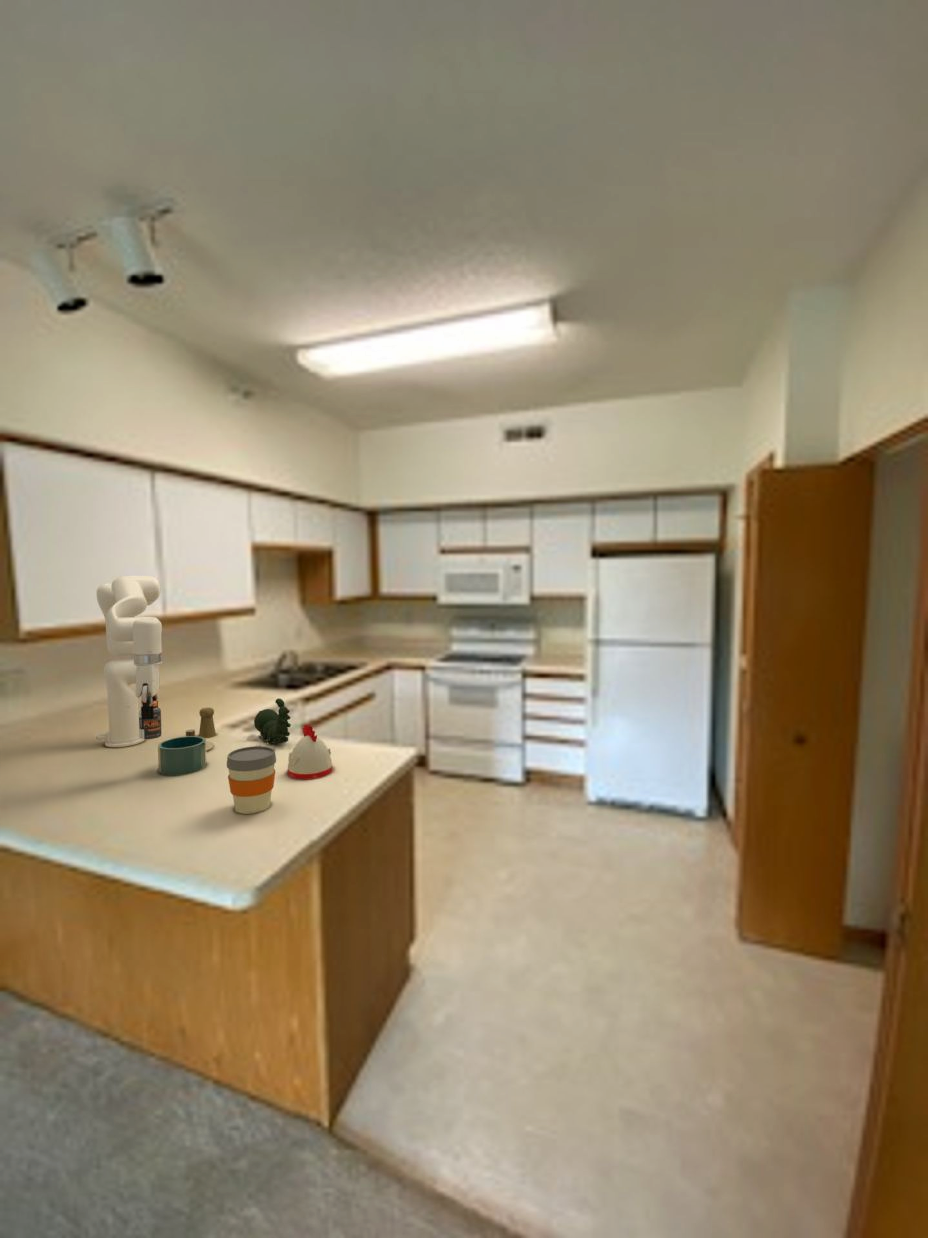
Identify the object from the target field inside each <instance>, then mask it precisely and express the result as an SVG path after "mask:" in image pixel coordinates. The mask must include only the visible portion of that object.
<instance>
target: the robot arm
mask: <svg viewBox="0 0 928 1238" xmlns="http://www.w3.org/2000/svg"><path fill="white" fill-rule="evenodd" d="M160 595H161V585H160V582H159V580H158V579H157V578H156V577H155V576H151V575H120V576H118V577H116V578H114V580H112V582H111V583H104V584H101V585H99V586H98V587H97V589H96V601H97V603H98V606H99V608H100V610H101V612H102V614H103V617H104V623H105V634H106V635H105V636H106V647H107V652H108V653H109V654H110V655H111V656H118V657H119V656H120V657H121V656H133V658H132V657H130V658H119V659H113V660H110V661H108V662H106V664H105V665H104V666H103V676H104V680H105V684H106V685H105V686H106V690H107V692H106V693H107V710H108V731H107V732H106V733H96V734H95V739H96V740H98V741H102V740H105V741H104V746H105V747H108V748H124V747H125V748H126V747H131V746H135V745H139V744H141V743H143V742H145V740H143V739H140V737H139V711H140V710H141V719H153V718H154V711H153V706H152V701H157V707H158V708H159V700H158V692H160V665H161V664H163V647H162V646H163V644H162V634H163V624H162V622H161V621H160V619H159V618H157V617H155V616H140V615H141V614H143V613H144V612H145V611H146V609H147V607H149V606H151V605H152V604H154V603H155V602H156V601H157V600H158V599H159V597H160ZM130 685H135V689H134V688H132V687H131V686H130ZM139 698H140V708H139ZM149 701H150V702H149Z"/></svg>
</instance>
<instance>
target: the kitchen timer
mask: <svg viewBox="0 0 928 1238" xmlns="http://www.w3.org/2000/svg"><path fill="white" fill-rule="evenodd" d="M313 729H314V728H313V726H311V725H310V724H309V725H308V724H304V726H303V727H302V734H303V737H302V738H300V739H299V740H298V742H297V743H296V744H295V745H294V747H293V748H292V751H291V752H289V753H288V759H287V760H288V761H287V762H288V763H287V775H288V776H289V778H293V779H297V780H313V779H318V778H322V777H326V776H327V775H329V774H330V773H332V772H333V760H332V758H331V757H332V756H331V755H332V753H331V752H332V751H331V748H328V746H327V745H326V744H325V742H324V741H323V740H322V739H321V738H319V737H318V735H316V730H313Z"/></svg>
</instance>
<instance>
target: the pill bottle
mask: <svg viewBox="0 0 928 1238" xmlns="http://www.w3.org/2000/svg"><path fill="white" fill-rule="evenodd" d="M157 701H158V700H155V701H152V706H153V711H154V718H153V719H141V709H139V737H140V739H143V740H144V741H145V740H146V741H148V740H156V739H159V738H161V736H162V709H161V708H160V707H159V706H158V707H157ZM149 702H150V701H149Z"/></svg>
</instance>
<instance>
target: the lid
mask: <svg viewBox="0 0 928 1238" xmlns="http://www.w3.org/2000/svg"><path fill="white" fill-rule="evenodd" d="M186 736H196V729H187V730H185V737H186ZM213 747H214V743H213V742H212V741H208V740H206V752H208V751H209V750H211V749H213Z"/></svg>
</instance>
